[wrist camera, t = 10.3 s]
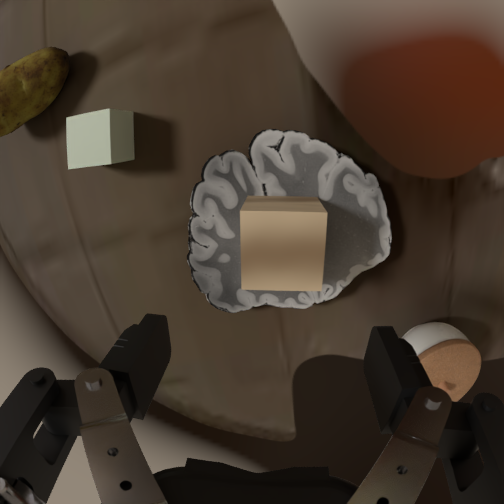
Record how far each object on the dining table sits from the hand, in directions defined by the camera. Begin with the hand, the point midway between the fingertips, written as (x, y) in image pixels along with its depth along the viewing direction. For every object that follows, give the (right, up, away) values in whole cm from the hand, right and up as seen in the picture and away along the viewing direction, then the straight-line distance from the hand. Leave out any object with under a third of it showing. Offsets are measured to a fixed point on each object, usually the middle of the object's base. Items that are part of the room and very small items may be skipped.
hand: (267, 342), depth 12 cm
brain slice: (+2, +7, +19) cm, 21 cm away
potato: (-26, +22, +16) cm, 37 cm away
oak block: (+2, +5, +16) cm, 17 cm away
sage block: (-15, +15, +17) cm, 27 cm away
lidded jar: (+20, -8, +23) cm, 31 cm away
